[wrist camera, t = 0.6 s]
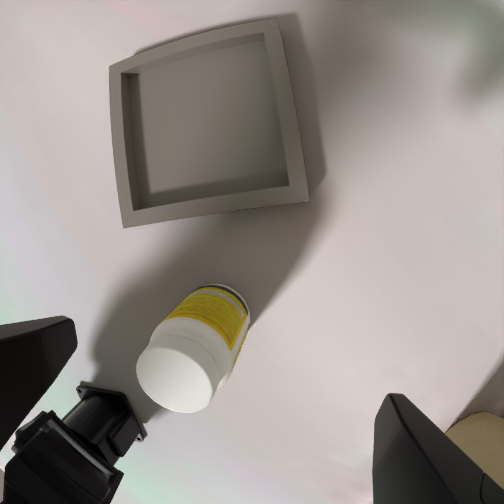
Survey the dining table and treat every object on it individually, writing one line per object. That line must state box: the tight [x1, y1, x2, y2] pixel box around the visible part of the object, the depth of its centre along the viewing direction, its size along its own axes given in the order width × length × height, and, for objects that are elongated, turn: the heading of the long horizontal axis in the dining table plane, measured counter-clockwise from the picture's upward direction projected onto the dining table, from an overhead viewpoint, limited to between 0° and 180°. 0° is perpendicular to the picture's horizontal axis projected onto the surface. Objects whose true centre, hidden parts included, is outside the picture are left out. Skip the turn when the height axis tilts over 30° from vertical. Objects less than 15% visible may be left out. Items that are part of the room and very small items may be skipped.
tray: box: [109, 18, 309, 228], centre depth 18 cm, size 12×12×2 cm
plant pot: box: [445, 412, 504, 489], centre depth 12 cm, size 15×15×16 cm
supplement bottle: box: [136, 284, 250, 413], centre depth 17 cm, size 5×5×8 cm
